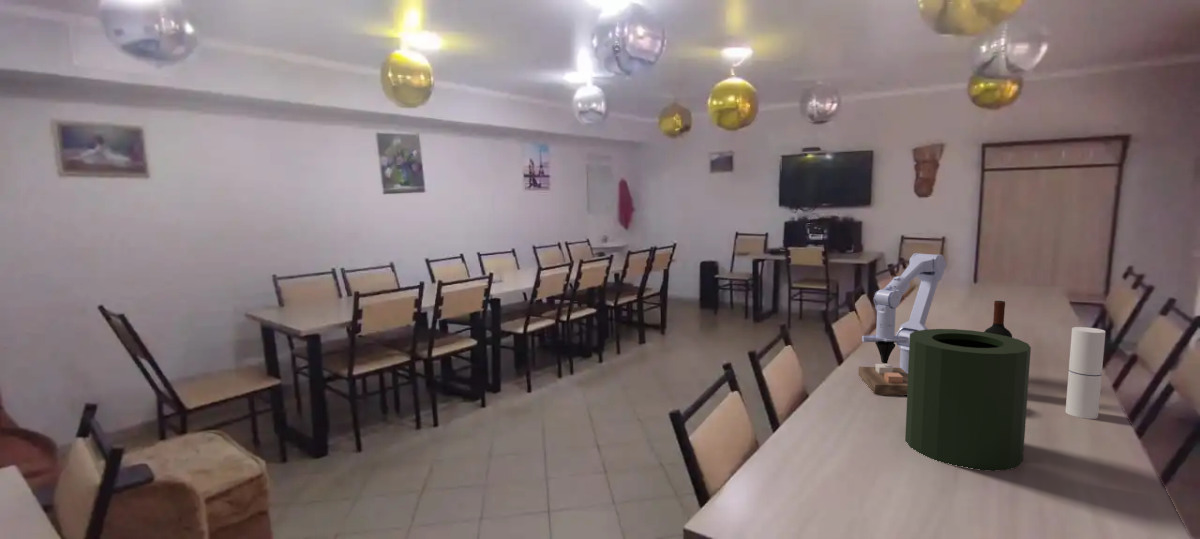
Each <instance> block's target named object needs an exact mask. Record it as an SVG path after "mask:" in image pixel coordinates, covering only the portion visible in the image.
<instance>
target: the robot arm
mask: <svg viewBox="0 0 1200 539" xmlns="http://www.w3.org/2000/svg"><path fill="white" fill-rule="evenodd" d="M908 262H909V263H908V266H907V267H906V268H905V270H904V271H903V272H902V273H901V275H899V276H894V277H893V278H892V279H891V280H890V282H888V284H887V285H885V287H884V288H883V289H882V288H881V289H879V290H876V292H875V293H874V295H873V296H874V297H873V303H874V305H875V310H876V326H875V327H876V328H875V329H876V331H875V332H876V333H875V334H873V335H872V334H871V335H862V336H861V341H862V343H875V345H876V347H877V349H878V353H879V355H880V362H881V364H888V363H889V359H890V356H891V353H892V352H893V351H894V349H895V348H896V345H897V346H898V349H899V350H900V351H899V368H902V369H903V370H904V371H905V372H906V373H907V374H908V366H909V343H910V334H911V333H913V332H915V331H920V330H927V329H928V327H927V326H926V322H927V319H928V317H929V313H930V309H931V307H932V302H933V301H934V296H935V293H936V290H937V287H938V283H939V281H941V280H942V279H943V275H944V274H945V273H944V272H945V269H946V266H947V264H946V259H945V257H944V255H943V254H932V253H931V254H930V253H919V252H915V253H913V254H912V255H911V257H910V258H909V260H908ZM916 277H917V278H919V279H920V284H919V288H918V290H917V294H916V296H915V300H914V303H913V306H912V310H911V313H910V317H909V319H908V321H906V322H904V323H902V324H900V326H899V329H898V331H896V330H895V329H896V314H897V313H896V312H897V307H898V306H899V305H900V303H901V299H903V298H902V297H903V295H904V294H905V293H906V292H907V291H908V289H910V288H911V287H910V286H911V285H910V283H911V282H912V281H913V280H914V279H915V278H916Z"/></svg>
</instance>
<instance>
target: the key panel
mask: <svg viewBox="0 0 1200 539" xmlns="http://www.w3.org/2000/svg"><path fill="white" fill-rule="evenodd" d="M893 373H899V374H900V375H902V376H903V383H888V382H887V381H886V380H885V379H884V374H883V373H878V372H877V371H876V370H875V366H858V373H857V374H858V375H859V376H860V377H861V378H862V379H861V378H860V377H859V376H858V377H859V378H860V379H861V381H862V382H863V381H864V382H865V383H866V384H867V385H868V386H867V385H866V384H865V383H864V382H863V383H864V384H865V385H866V386H867V388H868V389H869V388H870V389H871V390H872V391H873V392H872V391H871V390H870V389H869V390H870V391H871V392H872V393H873V395H875V394H881V395H880V396H896V395H907V389H908V374H907V373H906V372H905V371H904V370H903V369H902V368H900V367H893Z"/></svg>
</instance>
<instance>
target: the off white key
mask: <svg viewBox="0 0 1200 539" xmlns="http://www.w3.org/2000/svg"><path fill="white" fill-rule="evenodd" d="M874 367H875V370H876V371H877V372H878V373H883V374H884V372H887V373H893V368H894V367H893V366H892V365H891V364H890V363H889V364H888V363H875V366H874Z"/></svg>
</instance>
